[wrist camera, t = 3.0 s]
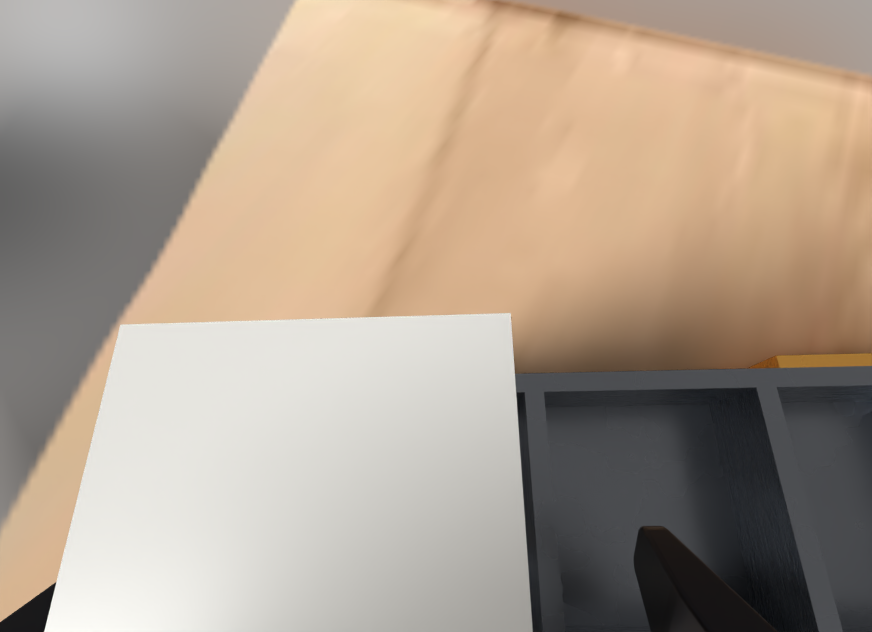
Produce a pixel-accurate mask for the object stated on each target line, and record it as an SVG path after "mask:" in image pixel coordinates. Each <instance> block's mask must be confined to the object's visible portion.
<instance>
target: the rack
mask: <svg viewBox="0 0 872 632" xmlns="http://www.w3.org/2000/svg"><path fill="white" fill-rule="evenodd" d="M515 384H516V398H517V413H518V427H519V442H520V456H521V470H522V485H523V499H524V514H525V528H526V542H527V557H528V571H529V585H530V600H531V614H532V629H533V632H651V630H650V626H649V623H648V619H647V615H646V611H645V607H644V604H643V600H642V596H641V592H640V589H639V585H638V581H637V577H636V574H635V569H634V562H633V559H634V552H635V546H636V541H637V535H638V531H639V529H640V527H642V526H663V527H665V528H667V529H668V530H669V531H670V532H671V533H673V534H674V535H675V536H676V537H677V538H678V539H679V540H680V541H681V542H682V543H683V544H684V545H685V546H686V547H688V548H689V549H690V550H691V551H692V552H693V553H694V554H695V555H696V556H697V557H698V558H699V559H700V560H702V561H703V562H704V563H705V564H706V565H707V566H708V567H709V568H710V569H711V570H712V571H713V572H714V573H715V574H717V575H718V576H719V577H720V578H721V579H722V580H723V581H724V582H725V583H726V584H727V585H728V586H729V587H731V588H732V589H733V590H734V591H735V592H736V593H737V594H738V595H739V596H740V597H741V598H742V599H743V600H744V601H746V602H747V603H748V604H749V605H750V606H751V607H752V608H753V609H754V610H755V611H756V612H757V613H758V614H759V615H761V616H762V617H763V618H764V619H765V620H766V621H767V622H768V623H769V624H770V625H771V626H772V627H773V628H775V629H776V630H777V631H778V632H872V353H864V354H822V355H780V356H774V357H772V358H770V359H767V360H765V361H763V362H761V363H758V364H756V365H754V366H751V367H749V368H747V369H709V370H664V371H619V372H573V373H528V374H515Z"/></svg>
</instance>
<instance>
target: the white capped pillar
mask: <svg viewBox="0 0 872 632" xmlns="http://www.w3.org/2000/svg"><path fill="white" fill-rule="evenodd" d="M44 632H533V629H532V614H531V600H530V585H529V571H528V557H527V542H526V528H525V514H524V499H523V485H522V470H521V456H520V442H519V427H518V413H517V398H516V384H515V370H514V355H513V341H512V326H511V313H500V314H466V315H432V316H398V317H364V318H330V319H296V320H262V321H228V322H194V323H160V324H127V325H120V329H119V333H118V337H117V341H116V345H115V349H114V353H113V357H112V361H111V365H110V369H109V373H108V377H107V381H106V385H105V389H104V393H103V398H102V402H101V406H100V410H99V414H98V418H97V422H96V426H95V430H94V434H93V438H92V442H91V446H90V450H89V454H88V458H87V462H86V466H85V470H84V474H83V478H82V482H81V486H80V490H79V494H78V498H77V502H76V506H75V510H74V514H73V518H72V522H71V526H70V530H69V534H68V538H67V542H66V546H65V550H64V554H63V558H62V562H61V566H60V570H59V574H58V578H57V582H56V586H55V590H54V594H53V598H52V602H51V606H50V611H49V615H48V619H47V623H46V627H45V631H44Z"/></svg>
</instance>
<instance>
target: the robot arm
mask: <svg viewBox="0 0 872 632" xmlns="http://www.w3.org/2000/svg"><path fill="white" fill-rule="evenodd" d="M633 562H634V569H635V574H636V577H637V581H638V585H639V589H640V592H641V596H642V600H643V604H644V607H645V611H646V615H647V619H648V623H649V626H650V630H651V632H778V631H777V630H776V629H775V628H773V627H772V626H771V625H770V624H769V623H768V622H767V621H766V620H765V619H764V618H763V617H762V616H761V615H759V614H758V613H757V612H756V611H755V610H754V609H753V608H752V607H751V606H750V605H749V604H748V603H747V602H746V601H744V600H743V599H742V598H741V597H740V596H739V595H738V594H737V593H736V592H735V591H734V590H733V589H732V588H731V587H729V586H728V585H727V584H726V583H725V582H724V581H723V580H722V579H721V578H720V577H719V576H718V575H717V574H715V573H714V572H713V571H712V570H711V569H710V568H709V567H708V566H707V565H706V564H705V563H704V562H703V561H702V560H700V559H699V558H698V557H697V556H696V555H695V554H694V553H693V552H692V551H691V550H690V549H689V548H688V547H686V546H685V545H684V544H683V543H682V542H681V541H680V540H679V539H678V538H677V537H676V536H675V535H674V534H673V533H671V532H670V531H669V530H668V529H667V528H665V527H663V526H642V527H640V529H639V531H638V535H637V541H636V546H635V552H634V559H633ZM55 586H56V583H54V584H53V585H51V586H50V587H49V588H47V589H46V590H44V591H43V592H42V593H40V594H39V595H37V596H36V597H35V598H33V599H32V600H31V601H29V602H28V603H26V604H25V605H24V606H22V607H21V608H19V609H18V610H17V611H15V612H14V613H12V614H11V615H10V616H8V617H7V618H5V619H4V620H3V621H1V622H0V632H44V631H45V627H46V623H47V619H48V615H49V611H50V606H51V602H52V598H53V594H54V590H55Z"/></svg>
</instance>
